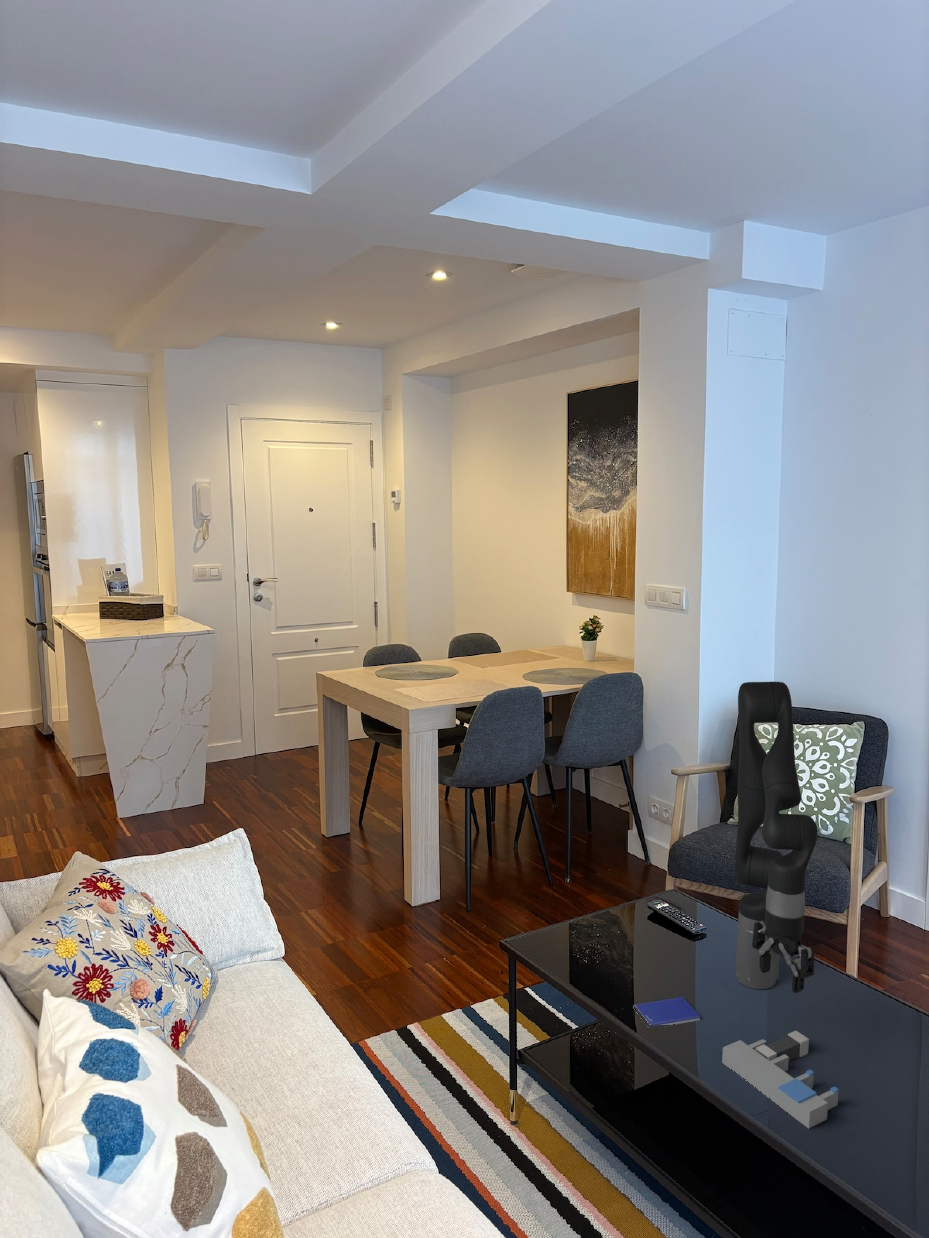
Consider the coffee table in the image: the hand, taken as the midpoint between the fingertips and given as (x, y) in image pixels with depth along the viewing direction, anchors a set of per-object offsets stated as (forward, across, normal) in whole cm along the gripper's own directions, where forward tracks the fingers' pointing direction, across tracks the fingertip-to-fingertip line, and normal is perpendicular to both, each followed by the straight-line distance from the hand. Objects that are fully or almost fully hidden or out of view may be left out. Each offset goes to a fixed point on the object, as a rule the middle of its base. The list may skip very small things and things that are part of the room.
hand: (780, 981), depth 187 cm
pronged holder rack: (+17, -7, +6) cm, 19 cm away
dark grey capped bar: (+17, -1, 0) cm, 17 cm away
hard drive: (+18, +22, +11) cm, 30 cm away
